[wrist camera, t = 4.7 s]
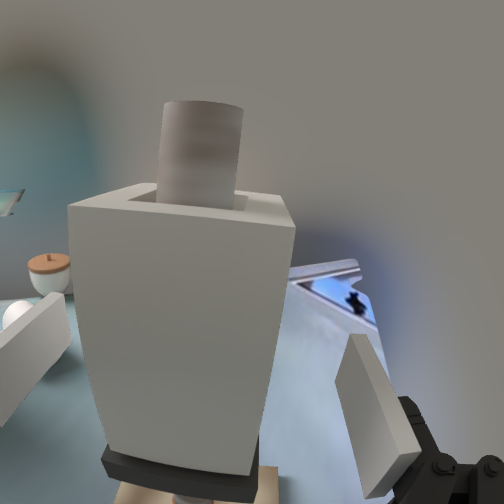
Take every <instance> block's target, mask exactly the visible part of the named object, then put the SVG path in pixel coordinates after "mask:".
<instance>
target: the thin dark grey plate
mask: <svg viewBox="0 0 504 504" xmlns="http://www.w3.org/2000/svg"><path fill="white" fill-rule="evenodd" d="M101 461H102V463H103V466H104V468H105V470H106V472H107V474H108V477H110V478H113V479H116V480H120V481H123V482H126V483H130V484H134V485H137V486H141V487H145V488H149V489H154V490H158V491H162V492H167V493H172V494H177V495H183V496H188V497H194V498H201V499H208V500H216V501H224V502H235V503H247V504H254V501H255V497H256V494H257V491H258V471H259V435H258V439H257V444H256V448H255V453H254V457H253V462H252V466H251V470H250V475H249V476H247V475H235V474H225V473H217V472H209V471H202V470H196V469H190V468H184V467H178V466H173V465H168V464H163V463H158V462H154V461H150V460H145V459H141V458H137V457H134V456H130V455H126V454H122V453H119V452H115V451H112V450H110V447H109V444H107V447H106V449H105V451H104V453H103V455H102V458H101Z"/></svg>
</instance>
